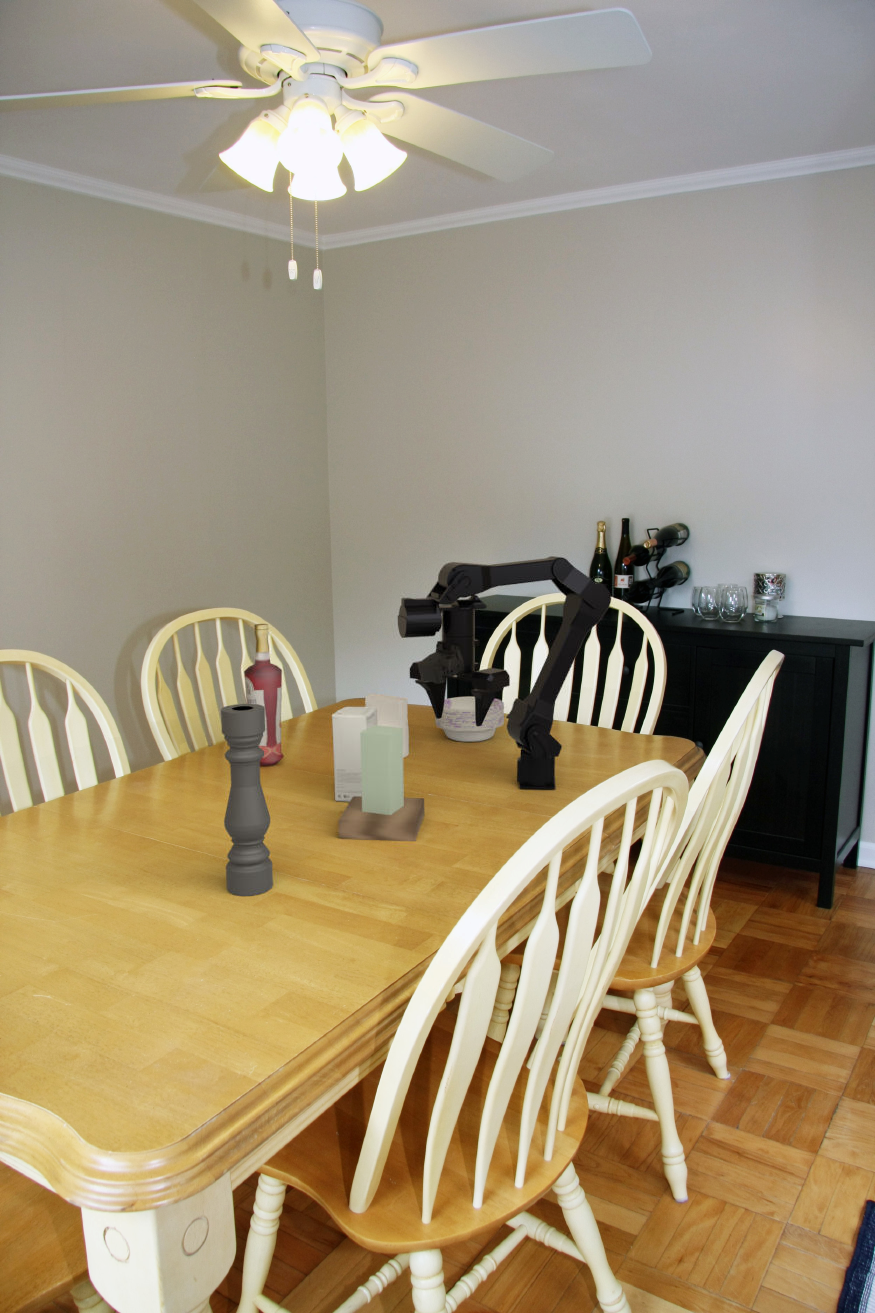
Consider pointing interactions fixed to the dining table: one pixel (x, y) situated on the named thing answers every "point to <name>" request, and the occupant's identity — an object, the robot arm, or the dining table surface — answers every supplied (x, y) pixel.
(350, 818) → the walnut block
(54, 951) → the dining table surface
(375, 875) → the dining table surface
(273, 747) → the liquor
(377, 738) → the sage pillar block
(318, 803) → the dining table surface
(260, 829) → the candle holder
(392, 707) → the base with upright slab
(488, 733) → the paper bowls
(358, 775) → the skincare box
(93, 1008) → the dining table surface
